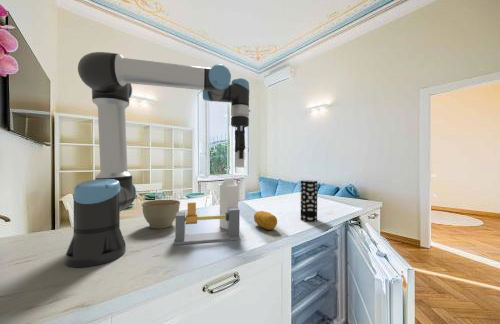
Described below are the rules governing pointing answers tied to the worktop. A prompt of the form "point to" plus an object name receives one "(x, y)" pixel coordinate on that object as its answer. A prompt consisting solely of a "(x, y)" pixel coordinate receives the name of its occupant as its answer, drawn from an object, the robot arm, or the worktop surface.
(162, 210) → the planter bowl
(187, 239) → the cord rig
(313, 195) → the white-spotted black cylinder
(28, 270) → the worktop surface
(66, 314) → the worktop surface
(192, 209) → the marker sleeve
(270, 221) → the potato
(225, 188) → the milk
